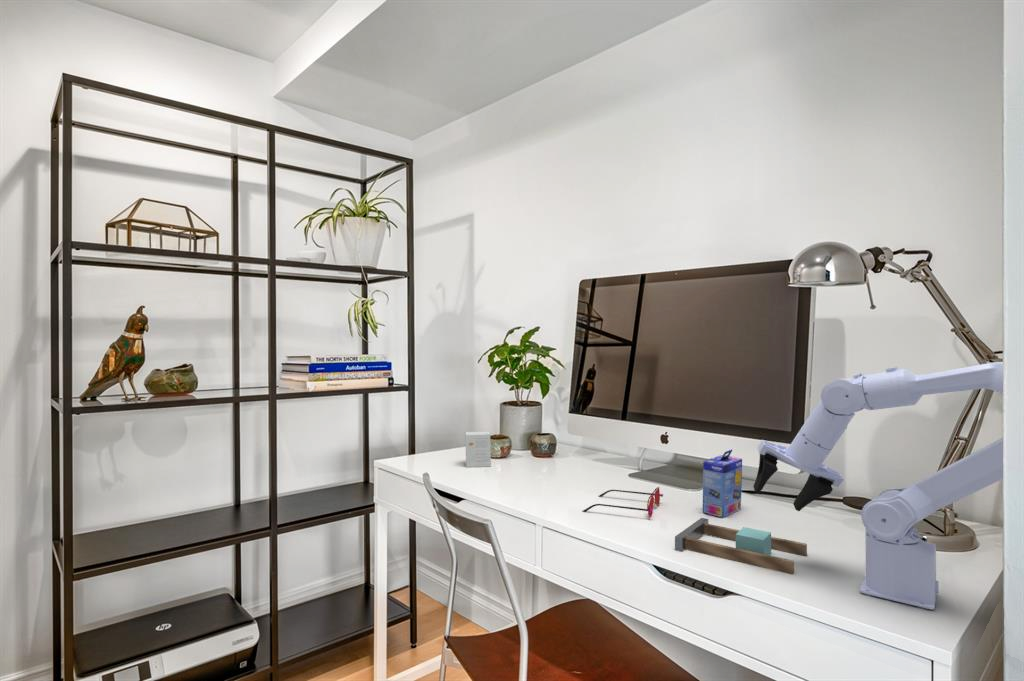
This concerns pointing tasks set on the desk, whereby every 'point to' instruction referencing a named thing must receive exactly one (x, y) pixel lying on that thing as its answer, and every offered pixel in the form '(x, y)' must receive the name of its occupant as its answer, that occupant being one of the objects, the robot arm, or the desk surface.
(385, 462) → the desk surface
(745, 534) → the block
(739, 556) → the guide track
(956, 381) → the robot arm
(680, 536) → the end stop
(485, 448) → the small box
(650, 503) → the glasses
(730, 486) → the ink cartridge box
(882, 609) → the desk surface
